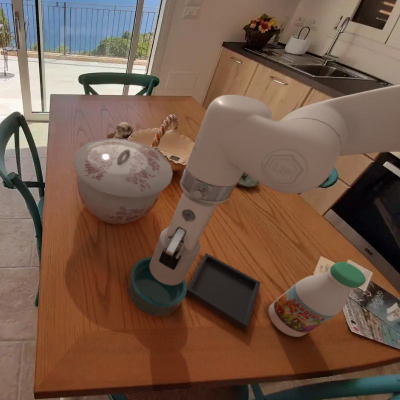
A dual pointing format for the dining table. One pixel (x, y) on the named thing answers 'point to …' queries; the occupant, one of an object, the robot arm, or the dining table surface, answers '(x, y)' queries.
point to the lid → (247, 181)
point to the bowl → (153, 291)
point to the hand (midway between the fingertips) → (175, 250)
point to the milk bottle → (315, 299)
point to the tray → (224, 290)
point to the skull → (122, 131)
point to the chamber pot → (120, 178)
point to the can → (183, 266)
